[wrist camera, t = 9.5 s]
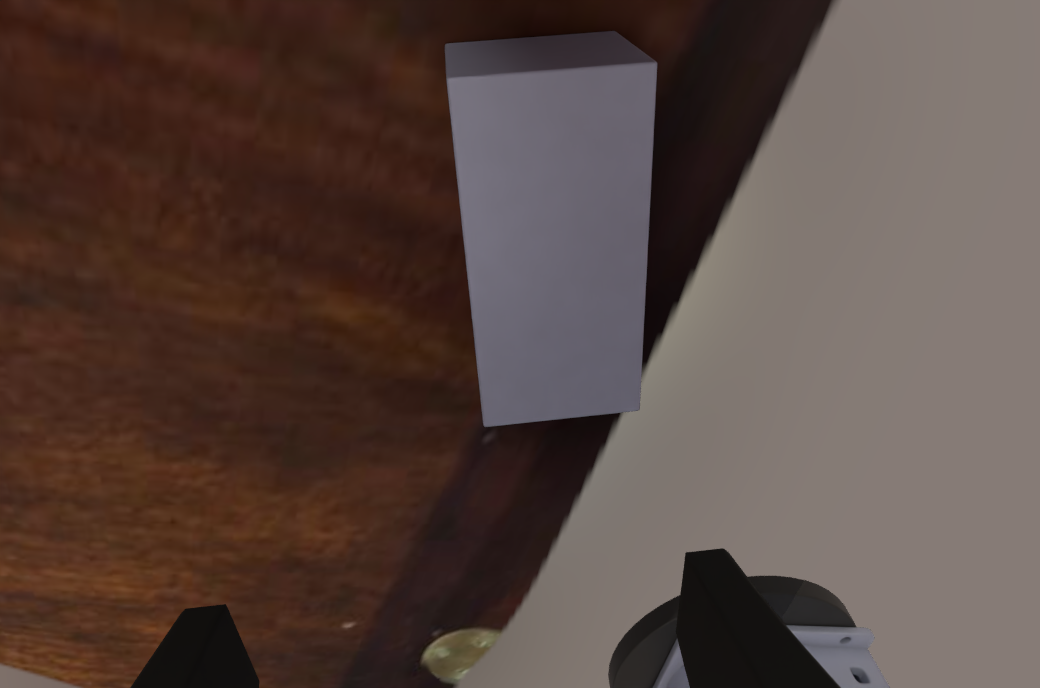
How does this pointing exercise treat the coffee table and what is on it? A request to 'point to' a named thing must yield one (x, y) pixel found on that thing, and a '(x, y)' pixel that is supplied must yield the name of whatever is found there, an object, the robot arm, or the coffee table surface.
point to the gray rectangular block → (554, 218)
